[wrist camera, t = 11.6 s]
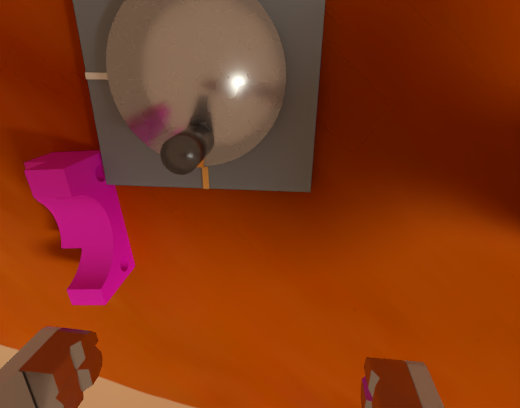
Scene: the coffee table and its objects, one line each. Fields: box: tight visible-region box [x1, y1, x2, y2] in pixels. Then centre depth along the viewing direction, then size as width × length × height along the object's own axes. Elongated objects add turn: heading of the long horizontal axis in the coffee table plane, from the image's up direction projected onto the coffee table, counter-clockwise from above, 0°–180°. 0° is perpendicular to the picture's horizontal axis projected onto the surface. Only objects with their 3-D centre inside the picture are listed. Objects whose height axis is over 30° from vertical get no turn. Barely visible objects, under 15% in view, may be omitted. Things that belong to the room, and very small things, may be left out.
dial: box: [106, 0, 286, 175], centre depth 26 cm, size 16×16×8 cm
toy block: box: [24, 150, 135, 305], centre depth 35 cm, size 15×6×8 cm, turn 4°
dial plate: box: [73, 0, 325, 192], centre depth 31 cm, size 22×22×2 cm
